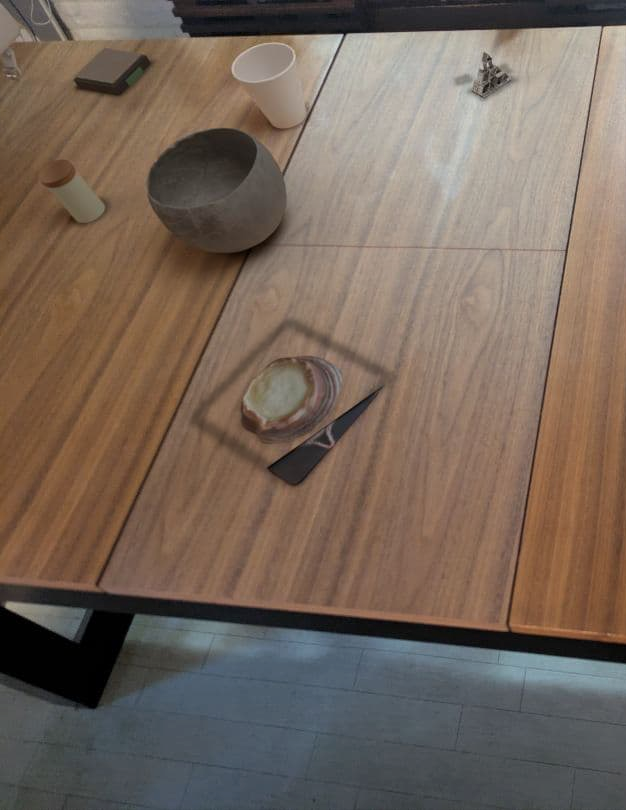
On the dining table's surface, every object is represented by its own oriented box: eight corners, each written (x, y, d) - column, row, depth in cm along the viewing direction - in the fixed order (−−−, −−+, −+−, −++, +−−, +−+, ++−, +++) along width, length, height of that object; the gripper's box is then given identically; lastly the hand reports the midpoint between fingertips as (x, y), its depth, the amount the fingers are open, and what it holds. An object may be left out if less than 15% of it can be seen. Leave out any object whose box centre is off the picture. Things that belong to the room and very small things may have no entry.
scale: (123, 99, 147) (113, 84, 144) (81, 91, 150) (71, 77, 147) (154, 67, 152) (145, 52, 149) (113, 60, 155) (103, 46, 152)
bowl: (249, 175, 131) (209, 105, 118) (326, 215, 123) (293, 144, 111) (163, 247, 123) (110, 180, 110) (240, 294, 116) (193, 228, 103)
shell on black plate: (390, 380, 104) (382, 364, 101) (296, 488, 96) (284, 475, 93) (290, 324, 111) (279, 308, 108) (195, 421, 104) (181, 407, 100)
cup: (302, 144, 134) (274, 85, 123) (249, 135, 137) (218, 77, 126) (330, 104, 140) (306, 45, 129) (279, 97, 142) (251, 38, 132)
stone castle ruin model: (490, 63, 142) (484, 26, 135) (519, 80, 138) (514, 43, 131) (456, 85, 139) (448, 48, 133) (484, 103, 135) (478, 66, 129)
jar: (83, 231, 127) (44, 187, 118) (72, 215, 130) (33, 171, 121) (113, 214, 129) (76, 170, 120) (101, 199, 131) (64, 154, 123)
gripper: (-45, -30, 106) (19, 55, 118) (-133, 51, 96) (-54, 136, 108) (-9, -29, 106) (52, 57, 117) (-94, 53, 95) (-18, 139, 107)
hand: (1, 96), depth 113 cm, fingers open, 8 cm apart
